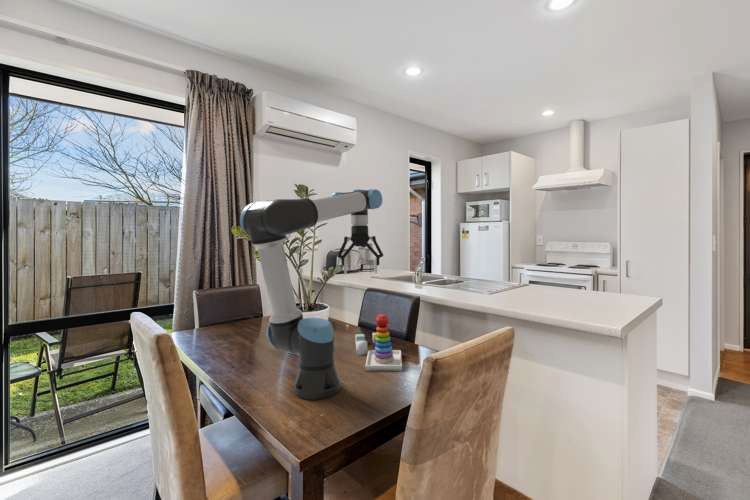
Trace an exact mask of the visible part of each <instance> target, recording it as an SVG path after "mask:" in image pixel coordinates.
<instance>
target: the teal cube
mask: <svg viewBox="0 0 750 500" xmlns="http://www.w3.org/2000/svg"><path fill="white" fill-rule="evenodd" d="M354 338H355V339H354V340H355V341H354V342H355V344H356V342H357V341H361V340H364V341H366V335H365V334H364V333H357V334H354Z"/></svg>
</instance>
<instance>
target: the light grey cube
mask: <svg viewBox="0 0 750 500" xmlns="http://www.w3.org/2000/svg"><path fill="white" fill-rule="evenodd" d="M368 350H369V349H368V341H367V340H365V341H364V340H361V341H357V342H356V343H355V354H356V355H357V356H367V354H368Z"/></svg>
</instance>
